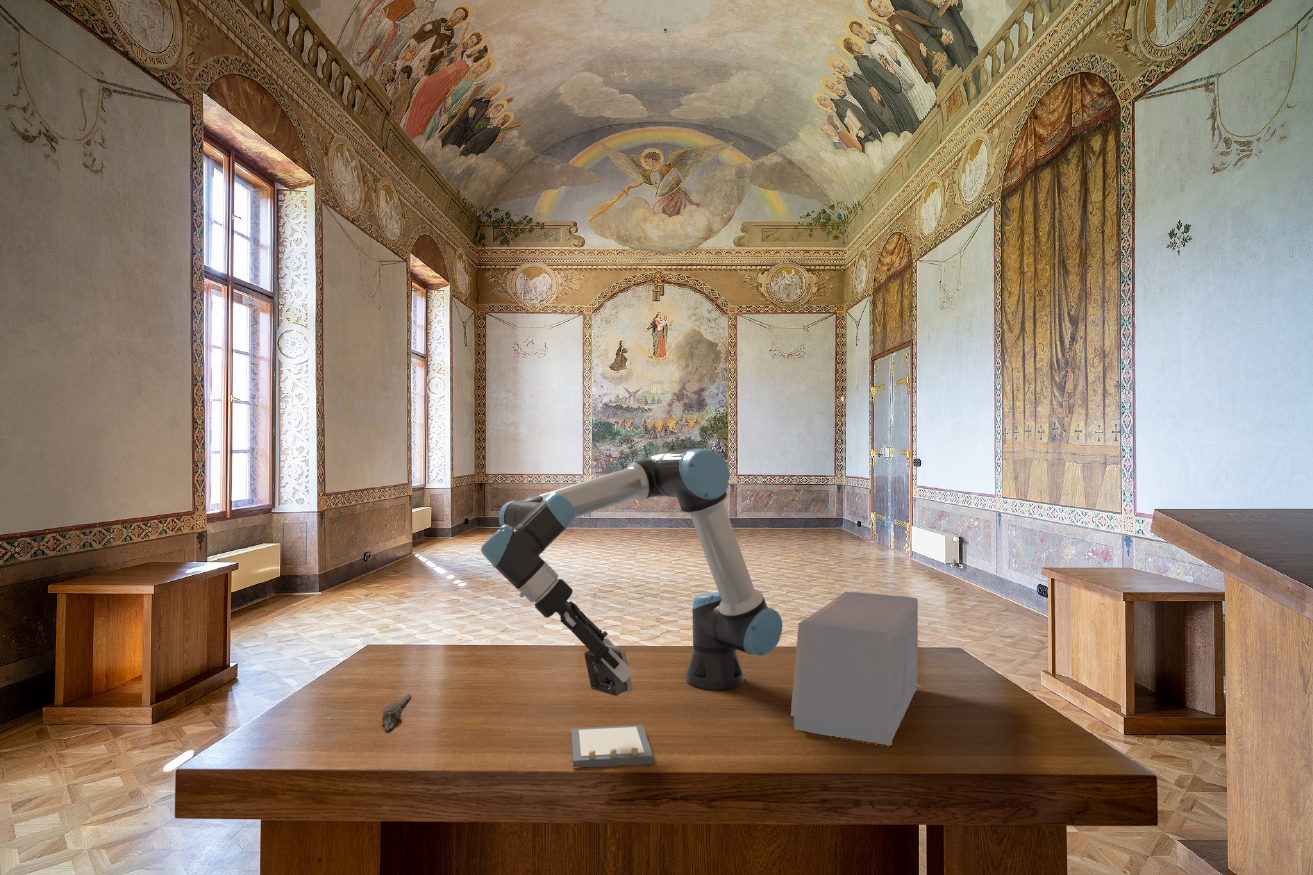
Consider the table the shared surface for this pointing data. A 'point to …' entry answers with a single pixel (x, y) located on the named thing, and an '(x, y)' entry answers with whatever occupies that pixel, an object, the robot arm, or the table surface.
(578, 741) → the plate
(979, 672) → the table surface
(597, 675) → the electrical switch
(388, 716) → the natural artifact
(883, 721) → the grey rounded box
